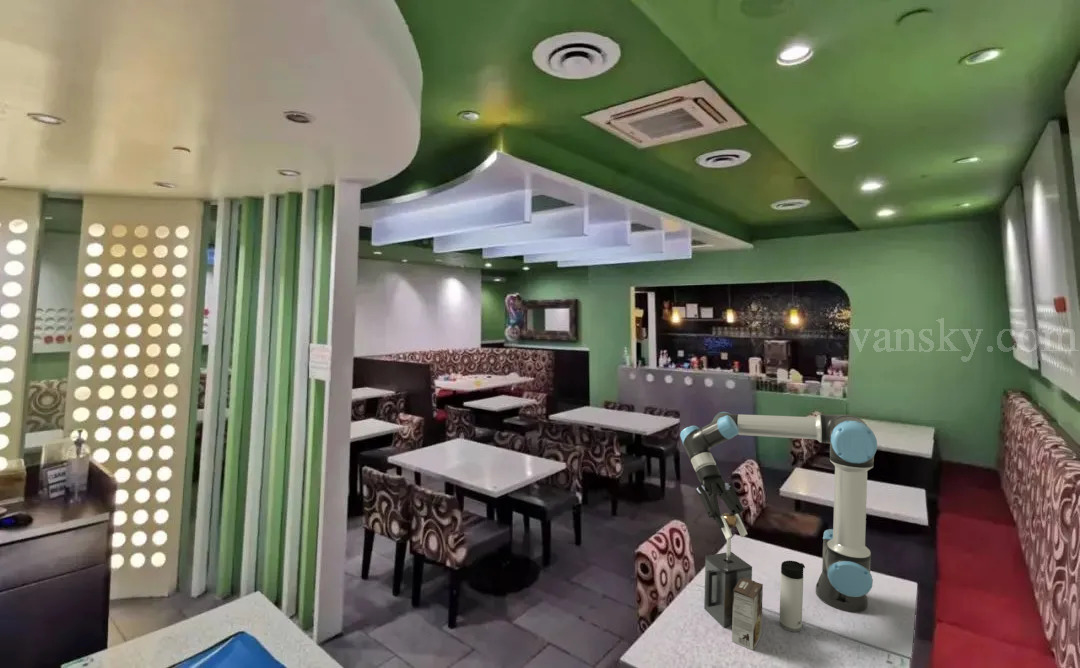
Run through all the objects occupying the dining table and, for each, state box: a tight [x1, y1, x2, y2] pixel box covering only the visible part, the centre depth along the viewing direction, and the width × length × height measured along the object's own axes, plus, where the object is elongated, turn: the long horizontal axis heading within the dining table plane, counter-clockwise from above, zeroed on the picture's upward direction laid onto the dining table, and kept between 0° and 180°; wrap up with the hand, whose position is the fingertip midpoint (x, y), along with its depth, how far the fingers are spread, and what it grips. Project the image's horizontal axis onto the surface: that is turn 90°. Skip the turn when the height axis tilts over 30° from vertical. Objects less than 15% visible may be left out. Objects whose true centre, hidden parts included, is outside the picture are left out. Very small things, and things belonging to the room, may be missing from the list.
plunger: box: [722, 512, 737, 563], centre depth 156 cm, size 8×8×24 cm
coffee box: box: [731, 577, 764, 651], centre depth 145 cm, size 9×6×16 cm
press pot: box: [703, 551, 753, 629], centre depth 156 cm, size 13×10×18 cm
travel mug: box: [778, 560, 806, 633], centre depth 151 cm, size 6×7×20 cm
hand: (736, 536), depth 152 cm, fingers open, 5 cm apart
